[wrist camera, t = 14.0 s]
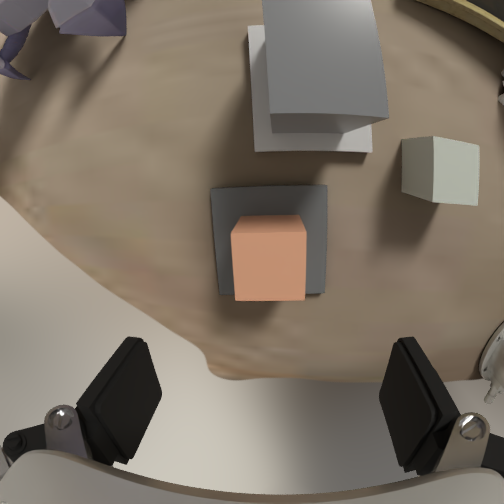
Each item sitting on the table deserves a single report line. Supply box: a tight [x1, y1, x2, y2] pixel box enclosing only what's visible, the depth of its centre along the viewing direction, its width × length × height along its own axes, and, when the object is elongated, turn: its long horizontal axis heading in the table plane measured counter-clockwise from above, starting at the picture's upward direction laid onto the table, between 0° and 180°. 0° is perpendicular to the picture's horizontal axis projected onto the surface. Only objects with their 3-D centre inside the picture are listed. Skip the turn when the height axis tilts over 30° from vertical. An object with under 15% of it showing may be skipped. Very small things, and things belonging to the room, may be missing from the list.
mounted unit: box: [248, 0, 389, 153], centre depth 16 cm, size 12×10×11 cm
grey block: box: [402, 136, 479, 206], centre depth 20 cm, size 5×5×6 cm
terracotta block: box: [231, 215, 307, 301], centre depth 22 cm, size 5×5×6 cm
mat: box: [210, 185, 327, 295], centre depth 26 cm, size 10×10×1 cm
